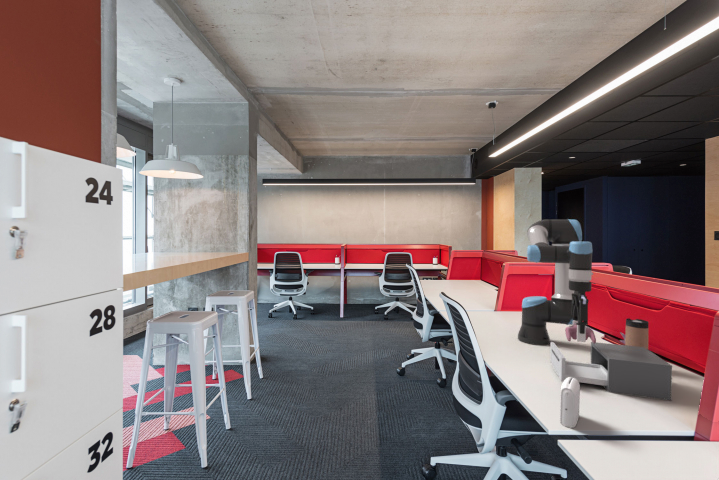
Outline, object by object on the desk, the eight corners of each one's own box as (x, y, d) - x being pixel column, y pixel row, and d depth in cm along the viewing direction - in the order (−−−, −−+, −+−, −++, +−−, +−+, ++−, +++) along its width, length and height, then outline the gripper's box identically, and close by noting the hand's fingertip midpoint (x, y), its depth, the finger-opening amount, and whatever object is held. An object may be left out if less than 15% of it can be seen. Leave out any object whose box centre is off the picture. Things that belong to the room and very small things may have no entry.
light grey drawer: (560, 381, 125) (560, 357, 125) (549, 362, 144) (549, 341, 143) (619, 389, 119) (620, 364, 118) (600, 368, 138) (600, 347, 137)
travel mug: (642, 371, 138) (643, 323, 138) (621, 365, 145) (622, 319, 145) (651, 368, 142) (652, 321, 141) (630, 362, 149) (631, 317, 148)
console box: (608, 391, 120) (609, 358, 120) (590, 370, 139) (591, 341, 138) (671, 400, 114) (672, 365, 114) (643, 377, 133) (644, 347, 133)
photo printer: (575, 430, 96) (576, 387, 96) (558, 424, 99) (559, 383, 98) (580, 415, 104) (581, 376, 104) (564, 410, 107) (565, 372, 106)
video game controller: (594, 345, 131) (591, 326, 133) (597, 343, 127) (595, 324, 130) (565, 342, 134) (563, 324, 137) (567, 340, 130) (565, 322, 133)
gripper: (599, 284, 121) (597, 347, 122) (584, 278, 139) (583, 333, 139) (575, 282, 124) (574, 345, 124) (563, 277, 142) (562, 331, 142)
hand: (578, 339), depth 132 cm, fingers closed on video game controller, 6 cm apart
